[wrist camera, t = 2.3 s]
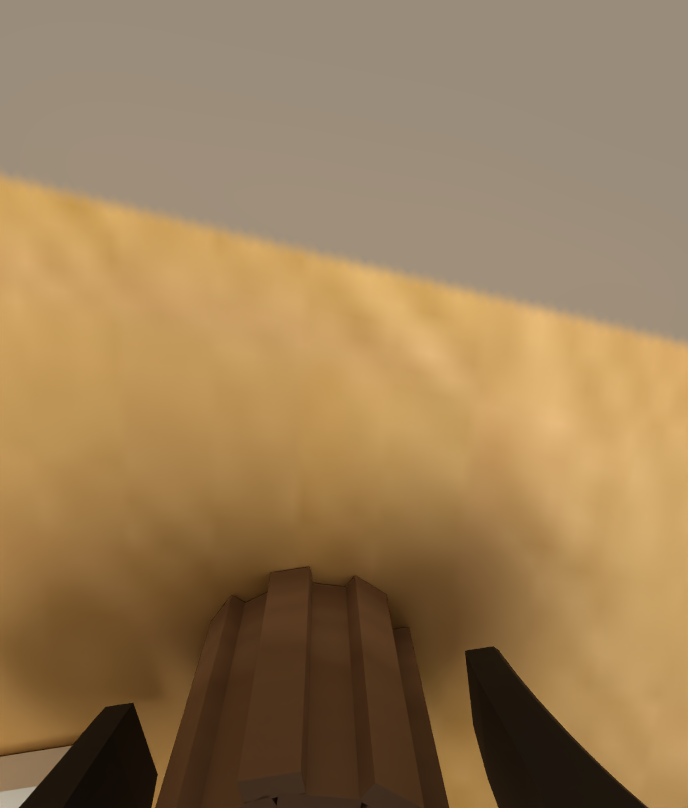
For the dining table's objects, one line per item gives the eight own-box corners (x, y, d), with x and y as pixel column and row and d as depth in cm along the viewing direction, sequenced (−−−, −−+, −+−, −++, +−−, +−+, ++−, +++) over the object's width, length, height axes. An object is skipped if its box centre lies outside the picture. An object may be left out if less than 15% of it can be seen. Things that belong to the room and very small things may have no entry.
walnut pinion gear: (398, 552, 12) (445, 749, 7) (422, 722, 14) (475, 978, 9) (182, 586, 12) (93, 803, 8) (229, 752, 14) (179, 1023, 9)
